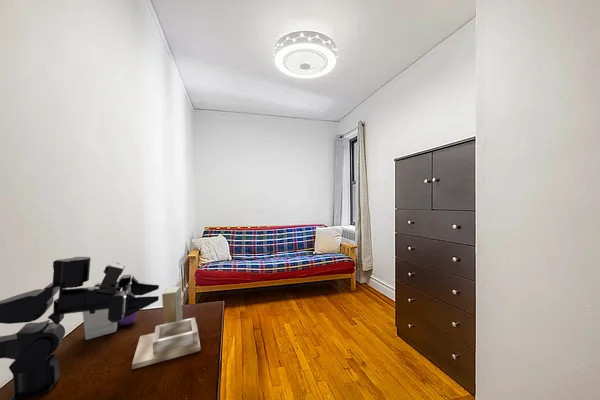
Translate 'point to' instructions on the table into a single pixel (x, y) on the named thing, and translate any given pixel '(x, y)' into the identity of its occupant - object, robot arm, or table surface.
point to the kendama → (128, 319)
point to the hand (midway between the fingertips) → (158, 292)
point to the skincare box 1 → (98, 324)
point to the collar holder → (167, 343)
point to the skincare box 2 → (172, 305)
